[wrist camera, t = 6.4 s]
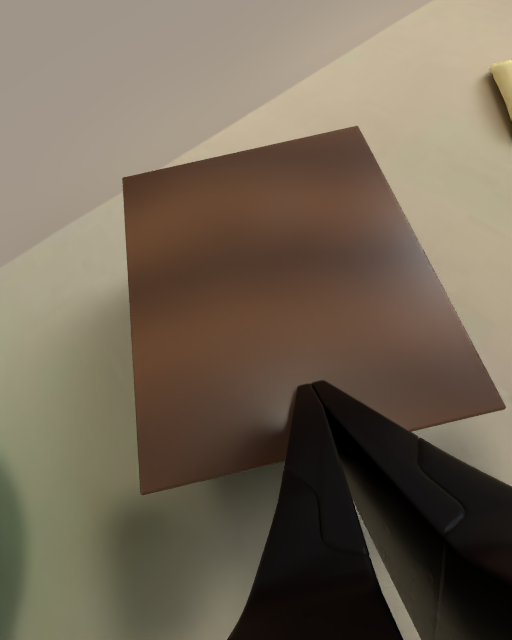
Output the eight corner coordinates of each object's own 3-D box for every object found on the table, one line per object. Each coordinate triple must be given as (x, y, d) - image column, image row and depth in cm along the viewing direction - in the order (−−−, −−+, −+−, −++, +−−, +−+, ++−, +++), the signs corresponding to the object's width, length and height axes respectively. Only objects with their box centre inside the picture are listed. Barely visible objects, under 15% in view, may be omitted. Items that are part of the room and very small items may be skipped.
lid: (490, 410, 10) (508, 408, 9) (150, 491, 9) (139, 496, 9) (354, 140, 14) (358, 124, 14) (129, 190, 14) (121, 177, 14)
